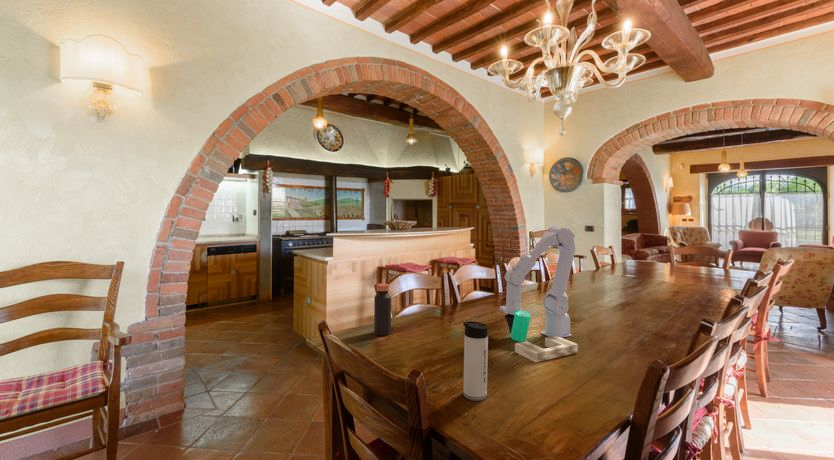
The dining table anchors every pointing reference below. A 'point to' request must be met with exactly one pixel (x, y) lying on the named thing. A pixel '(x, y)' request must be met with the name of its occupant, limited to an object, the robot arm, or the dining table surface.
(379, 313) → the bottle
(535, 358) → the cream flat frame
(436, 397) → the dining table surface
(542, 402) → the dining table surface
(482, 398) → the travel mug
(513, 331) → the green prism block
